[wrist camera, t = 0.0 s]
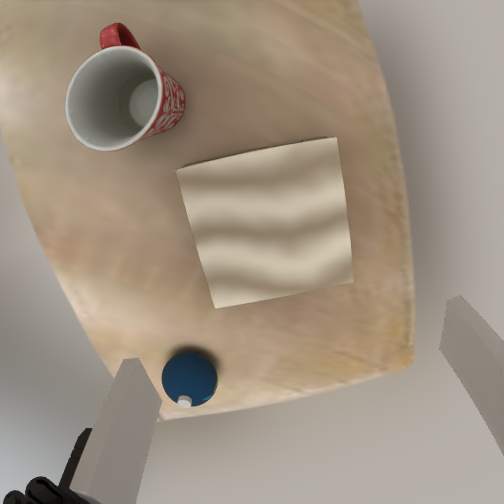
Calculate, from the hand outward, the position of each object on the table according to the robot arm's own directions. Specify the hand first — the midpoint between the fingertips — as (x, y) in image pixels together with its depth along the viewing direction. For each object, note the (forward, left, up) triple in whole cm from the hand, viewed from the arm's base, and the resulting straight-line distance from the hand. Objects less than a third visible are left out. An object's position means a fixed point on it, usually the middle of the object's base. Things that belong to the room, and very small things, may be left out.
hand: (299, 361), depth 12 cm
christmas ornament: (+23, -16, -28) cm, 40 cm away
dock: (+3, 0, -28) cm, 28 cm away
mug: (-16, -10, -28) cm, 34 cm away
